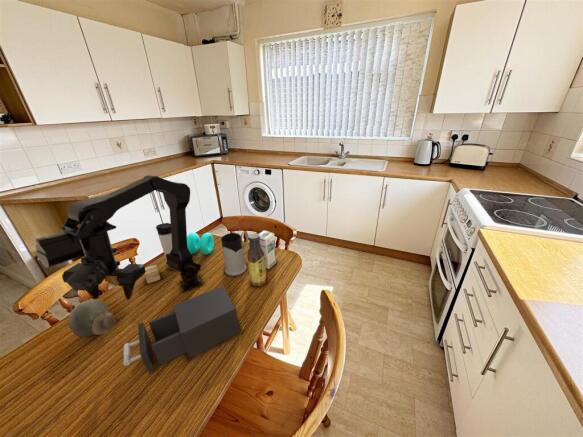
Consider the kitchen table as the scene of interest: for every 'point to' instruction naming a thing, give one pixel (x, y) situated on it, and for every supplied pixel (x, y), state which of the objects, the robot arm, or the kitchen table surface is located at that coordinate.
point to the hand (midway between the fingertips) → (113, 298)
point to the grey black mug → (234, 253)
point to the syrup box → (268, 248)
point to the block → (152, 274)
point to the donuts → (200, 243)
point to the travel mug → (165, 237)
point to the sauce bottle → (256, 261)
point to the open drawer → (158, 342)
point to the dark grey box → (206, 320)
